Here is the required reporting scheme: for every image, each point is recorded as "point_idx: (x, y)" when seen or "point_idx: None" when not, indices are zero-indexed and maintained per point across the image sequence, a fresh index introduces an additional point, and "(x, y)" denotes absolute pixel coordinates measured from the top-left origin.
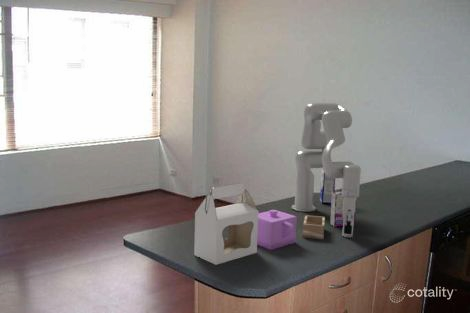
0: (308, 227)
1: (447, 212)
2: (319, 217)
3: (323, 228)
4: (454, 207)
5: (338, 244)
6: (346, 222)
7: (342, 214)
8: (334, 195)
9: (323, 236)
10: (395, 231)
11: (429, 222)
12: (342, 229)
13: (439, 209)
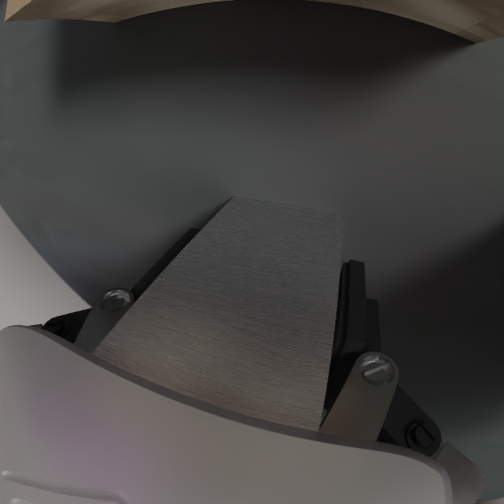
0: None
1: (479, 496)
2: None
3: (30, 14)
4: (495, 496)
5: (57, 149)
6: (92, 326)
7: (56, 401)
8: None
9: (140, 11)
10: None
11: None
12: (311, 237)
13: (501, 489)
